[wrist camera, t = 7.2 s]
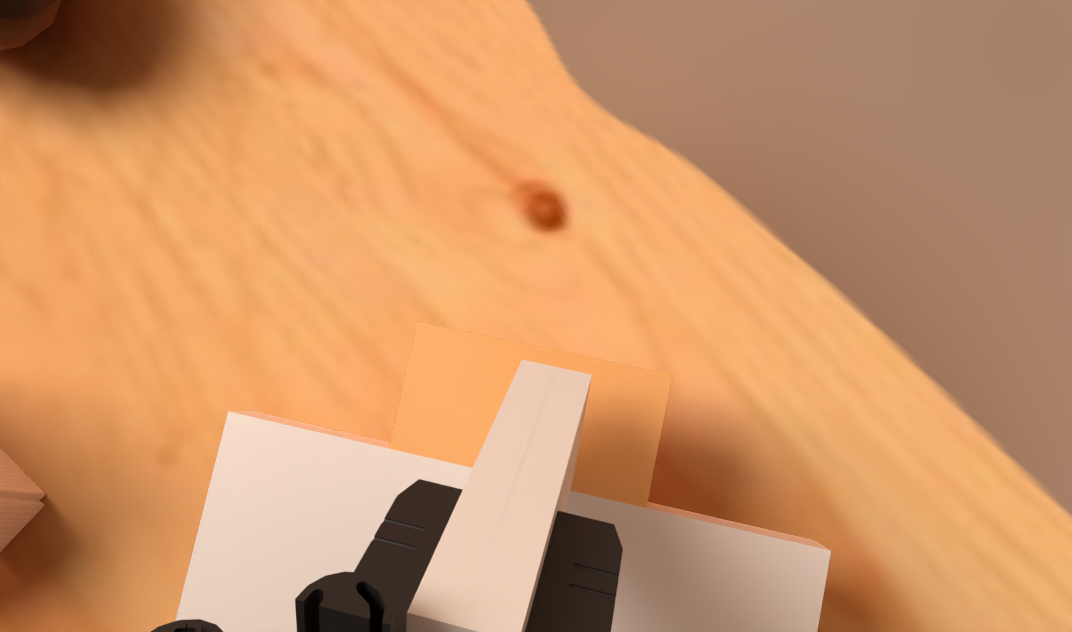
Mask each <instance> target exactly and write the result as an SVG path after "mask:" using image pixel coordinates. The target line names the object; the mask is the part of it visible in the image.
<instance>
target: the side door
mask: <svg viewBox="0 0 1072 632" xmlns="http://www.w3.org/2000/svg"><path fill="white" fill-rule="evenodd" d="M522 360H526V361H531V362H536V363H540V364H545V365H550V366H554V367H559V368H564V369H568V370H573V371H578V372H582V373H587V374H592V378H591V384H590V389H589V395H588V400H587V406H586V411H585V417H584V422H583V428H582V433H581V439H580V444H579V450H578V455H577V461H576V466H575V472H574V477H573V481H572V485H571V489H570V492H569V496H568V500H567V504H566V508H565V512H566V513H570V514H574V515H578V516H582V517H586V518H591V519H595V520H599V521H603V522H607V523H611V524H614V525H615V528H616V531H617V534H618V536H619V539H620V542H621V545H622V548H623V552H622V559H621V566H620V573H619V578H618V586H617V593H616V599H615V607H614V614H613V621H612V627H611V632H817V630H818V625H819V619H820V613H821V607H822V601H823V595H824V590H825V584H826V578H827V572H828V566H829V560H830V554H831V550H829V549H828V548H826V547H825V546H823V545H822V544H820V543H819V542H817V541H816V540H812V539H808V538H803V537H799V536H795V535H790V534H786V533H782V532H777V531H773V530H769V529H764V528H760V527H756V526H751V525H747V524H742V523H738V522H734V521H729V520H725V519H721V518H716V517H712V516H708V515H703V514H699V513H695V512H690V511H686V510H682V509H677V508H673V507H669V506H664V505H660V504H656V503H651V502H648V497H649V492H650V487H651V482H652V477H653V472H654V467H655V462H656V457H657V451H658V446H659V441H660V436H661V431H662V426H663V421H664V416H665V411H666V406H667V400H668V395H669V390H670V385H671V380H672V375H671V374H666V373H661V372H656V371H651V370H647V369H642V368H637V367H632V366H627V365H623V364H618V363H613V362H608V361H604V360H599V359H594V358H589V357H584V356H580V355H575V354H570V353H565V352H560V351H556V350H551V349H546V348H541V347H537V346H532V345H527V344H522V343H517V342H513V341H508V340H503V339H498V338H493V337H489V336H484V335H479V334H474V333H470V332H465V331H460V330H455V329H450V328H446V327H441V326H436V325H431V324H426V323H422V322H418V323H417V328H416V332H415V336H414V341H413V345H412V349H411V354H410V358H409V362H408V367H407V371H406V375H405V380H404V384H403V388H402V393H401V397H400V401H399V406H398V410H397V414H396V419H395V423H394V427H393V432H392V436H391V440H390V442H386V441H382V440H378V439H373V438H369V437H365V436H360V435H356V434H352V433H347V432H343V431H339V430H334V429H330V428H326V427H321V426H317V425H313V424H308V423H304V422H299V421H295V420H291V419H286V418H282V417H278V416H273V415H269V414H265V413H260V412H256V411H228V415H227V419H226V423H225V427H224V431H223V435H222V439H221V442H220V446H219V450H218V454H217V458H216V462H215V466H214V470H213V474H212V478H211V482H210V486H209V490H208V494H207V498H206V502H205V506H204V510H203V514H202V518H201V522H200V526H199V530H198V533H197V537H196V541H195V545H194V549H193V553H192V557H191V561H190V565H189V569H188V573H187V577H186V581H185V585H184V589H183V593H182V597H181V601H180V605H179V609H178V613H177V617H176V621H178V620H190V619H201V620H204V621H207V622H210V623H213V624H216V625H217V626H218V627H219V628H220V629H221V630H222V631H223V632H297V625H296V608H295V599H296V597H297V596H298V595H299V594H300V593H301V592H302V591H303V590H304V589H305V588H306V587H307V586H308V585H309V584H311V583H313V582H315V581H316V580H318V579H320V578H322V577H324V576H326V575H331V574H335V573H340V572H354V571H355V569H356V567H357V565H358V564H359V562H360V560H361V558H362V557H363V555H364V553H365V551H366V549H367V548H368V546H369V544H370V542H371V541H372V540H373V539H374V535H375V534H376V532H377V530H378V528H379V527H380V525H381V523H382V522H384V519H385V516H386V514H387V513H388V511H389V509H390V507H391V506H392V504H393V502H394V500H395V498H396V497H397V495H399V494H400V493H401V492H403V491H404V490H405V489H407V488H408V487H409V486H411V485H412V484H413V483H415V482H416V481H417V480H418V479H421V480H425V481H429V482H434V483H438V484H442V485H446V486H450V487H454V488H458V489H463V488H464V486H465V484H466V482H467V479H468V477H469V475H470V473H471V471H472V468H473V466H474V464H475V462H476V460H477V457H478V455H479V453H480V451H481V449H482V446H483V444H484V442H485V440H486V438H487V435H488V433H489V431H490V429H491V427H492V424H493V422H494V420H495V418H496V416H497V413H498V411H499V409H500V407H501V405H502V402H503V400H504V398H505V396H506V394H507V391H508V389H509V387H510V385H511V383H512V380H513V378H514V376H515V374H516V372H517V369H518V367H519V365H520V363H521V361H522Z"/></svg>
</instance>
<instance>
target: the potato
mask: <svg viewBox="0 0 1072 632" xmlns="http://www.w3.org/2000/svg"><path fill="white" fill-rule="evenodd" d="M61 1H62V0H0V50H6V49H11V48H15V47H20V46H23V45H25V44H26V43H27V42H29V41H30V40H31V39H33V38H34V37H36V36H37V35H38V34H40V33H41V32H43V31H44V30H45V29H47V28H48V27H49V26H51V25H52V24H53V23H54V20H55V17H56V15H57V12H58V9H59V7H60V4H61Z"/></svg>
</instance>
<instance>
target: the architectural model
mask: <svg viewBox="0 0 1072 632" xmlns="http://www.w3.org/2000/svg"><path fill="white" fill-rule="evenodd" d="M45 495H46V494H45V493H44V492H43V491H42V490H41V489H40V488H39V487H38V486H37V485H36V484H35V483H34V482H33V480H32V479H31V478H30V477H29V476H28V475H27V474H26V473H25V472H24V471H23V470H22V469H21V468H20V467H19V466H18V465H17V464H16V463H15V462H14V461H13V460H12V459H11V458H10V457H9V456H8V454H7V453H6V452H5V451H4V450H3V449H2V448H1V447H0V552H1V551H2V550H3V549H4V548H5V547H6V546H7V545H8V544H9V542H10V541H11V540H12V539H13V538H14V537H15V536H16V535H17V534H18V533H19V532H20V531H21V530H22V529H23V528H24V527H25V526H26V525H27V524H28V523H29V521H30V520H31V519H32V518H33V517H34V516H35V515H36V514H37V513H38V512H39V511H40V510H41V509H42V508H43V507H44V506H45V505H44V504H43V503H42V502H41V501H40V500H41V499H42V498H43V497H44V496H45ZM1 497H2V498H1ZM14 498H15V499H14ZM27 499H28V500H27Z"/></svg>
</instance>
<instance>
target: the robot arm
mask: <svg viewBox="0 0 1072 632" xmlns="http://www.w3.org/2000/svg"><path fill="white" fill-rule="evenodd" d="M591 378H592V374H587V373H582V372H578V371H573V370H568V369H564V368H559V367H554V366H550V365H545V364H540V363H536V362H531V361H526V360H522V361H521V363H520V365H519V367H518V369H517V372H516V374H515V376H514V378H513V380H512V383H511V385H510V387H509V389H508V391H507V394H506V396H505V398H504V400H503V402H502V405H501V407H500V409H499V411H498V413H497V416H496V418H495V420H494V422H493V424H492V427H491V429H490V431H489V433H488V435H487V438H486V440H485V442H484V444H483V446H482V449H481V451H480V453H479V455H478V457H477V460H476V462H475V464H474V466H473V468H472V471H471V473H470V475H469V477H468V479H467V482H466V484H465V486H464V488H463V489H458V488H454V487H450V486H446V485H442V484H438V483H434V482H429V481H425V480H421V479H418V480H417V481H416V482H415V483H413V484H412V485H411V486H409V487H408V488H407V489H405V490H404V491H403V492H401V493H400V494H399V495H397V497H396V498H395V500H394V502H393V504H392V506H391V507H390V509H389V511H388V513H387V514H386V516H385V519H384V522H382V523H381V525H380V527H379V528H378V530H377V532H376V534H375V535H374V539H373V540H372V541H371V542H370V544H369V546H368V548H367V549H366V551H365V553H364V555H363V557H362V558H361V560H360V562H359V564H358V565H357V567H356V569H355V571H354V572H340V573H335V574H331V575H326V576H324V577H322V578H320V579H318V580H316V581H315V582H313V583H311V584H309V585H308V586H307V587H306V588H305V589H304V590H303V591H302V592H301V593H300V594H299V595H298V596H297V597H296V599H295V608H296V625H297V632H611V627H612V621H613V614H614V607H615V599H616V593H617V586H618V578H619V573H620V566H621V559H622V552H623V548H622V545H621V542H620V539H619V536H618V534H617V531H616V528H615V525H614V524H611V523H607V522H603V521H599V520H595V519H591V518H586V517H582V516H578V515H574V514H570V513H566V512H565V508H566V504H567V500H568V496H569V492H570V489H571V485H572V481H573V477H574V472H575V466H576V461H577V455H578V450H579V444H580V439H581V433H582V428H583V422H584V417H585V411H586V406H587V400H588V395H589V389H590V384H591ZM151 632H223V631H222V630H221V629H220V628H219V627H218V626H217V625H216V624H213V623H210V622H207V621H204V620H201V619H190V620H178V621H175V622H172V623H169V624H166V625H162V626H159V627H158V628H156V629H154V630H153V631H151Z"/></svg>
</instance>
